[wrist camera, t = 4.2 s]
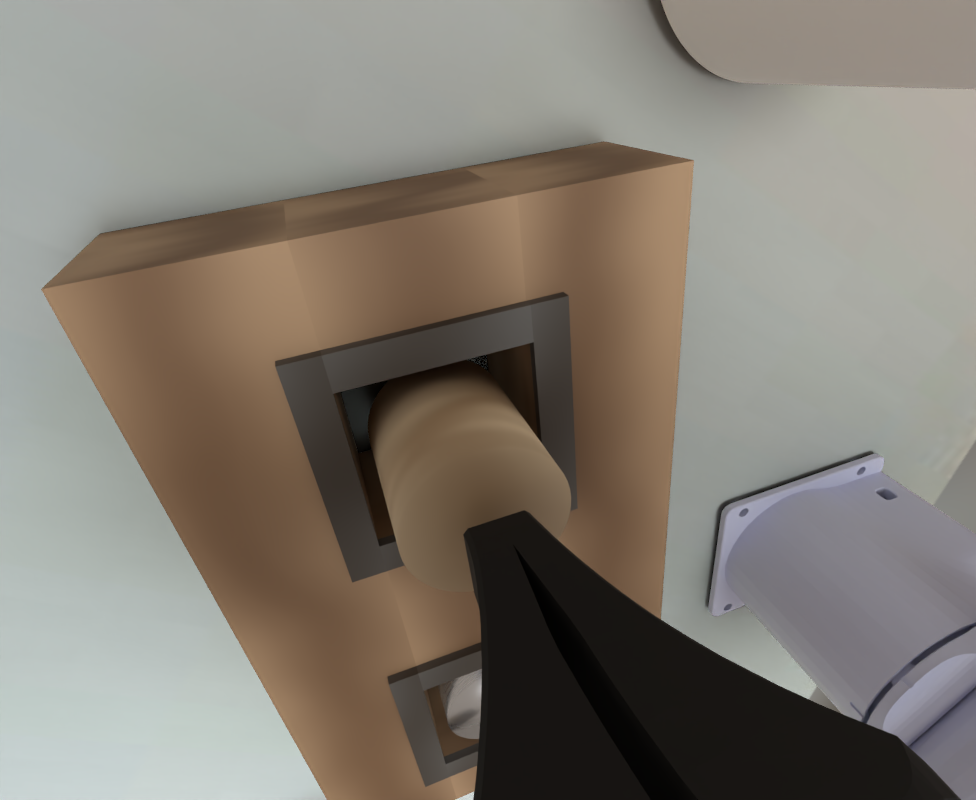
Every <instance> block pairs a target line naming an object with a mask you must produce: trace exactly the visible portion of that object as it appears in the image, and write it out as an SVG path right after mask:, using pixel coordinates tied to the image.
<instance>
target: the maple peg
mask: <svg viewBox="0 0 976 800" xmlns="http://www.w3.org/2000/svg"><path fill="white" fill-rule="evenodd" d="M368 435H369V441H370V444H371V448H372V452H373V456H374V459H375V463H376V467H377V471H378V474H379V478H380V482H381V486H382V489H383V493H384V497H385V501H386V504H387V508H388V512H389V516H390V520H391V523H392V527H393V531H394V535H395V538H396V542H397V546H398V550H399V553H400V556H401V559H402V561H403V563H404V565H405V566H406V568H407V569H408V570H409V571H410V573H411V574H412V575H413V576H414V577H416V578H417V579H418V580H420V581H421V582H423V583H425V584H427V585H429V586H431V587H434V588H437V589H441V590H445V591H453V592H469V591H474V588H473V583H472V578H471V573H470V567H469V562H468V557H467V552H466V546H465V541H464V536H463V534H464V533H465V531H466V530H467V529H468V528H471V527H474V526H477V525H480V524H483V523H486V522H489V521H492V520H495V519H498V518H501V517H505V516H508V515H511V514H514V513H517V512H520V511H523V510H525V511H527V512H529V513H530V514H531V515H532V516H533V517H534V518H535V519H536V520H537V521H538V522H539V523H540V524H542V525H543V526H544V527H545V528H546V529H547V530H548V531H549V532H550V533H551V534H552V535H553V536H554V537H555V538H556V539H557V540H558V539H559V538H560V536H561V534H562V533H563V531H564V528H565V526H566V524H567V521H568V518H569V515H570V509H571V492H570V487H569V484H568V481H567V479H566V477H565V475H564V473H563V472H562V471H561V469H560V468H559V467H558V465H557V464H556V462H555V461H554V460H553V458H552V457H551V456H550V454H549V453H548V451H547V450H546V449H545V447H544V446H543V445H542V443H541V442H540V440H539V439H538V438H537V436H536V435H535V433H534V432H533V431H532V429H531V428H530V427H529V425H528V424H527V422H526V421H525V420H524V418H523V417H522V416H521V414H520V413H519V411H518V410H517V409H516V407H515V406H514V405H513V403H512V402H511V400H510V399H509V398H508V396H507V395H506V394H505V392H504V391H503V389H502V388H501V387H500V385H499V384H498V383H497V381H496V380H495V379H494V377H493V376H492V375H491V374H490V373H489V372H488V371H487V370H485V369H484V368H483V367H481V366H480V365H478V364H476V363H474V362H471V361H468V360H463V361H459V362H455V363H451V364H447V365H443V366H440V367H436V368H432V369H428V370H424V371H420V372H416V373H412V374H408V375H405V376H401V377H397V378H393V379H390V380H389V381H388V382H387V383H386V384H385V385H384V386H383V388H382V389H381V390H380V391H379V393H378V395H377V396H376V398H375V400H374V402H373V404H372V407H371V409H370V413H369V418H368Z"/></svg>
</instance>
